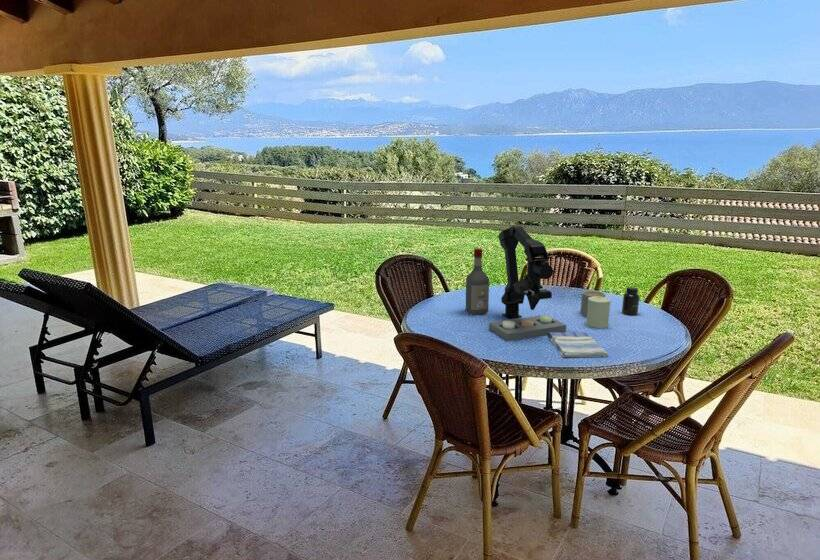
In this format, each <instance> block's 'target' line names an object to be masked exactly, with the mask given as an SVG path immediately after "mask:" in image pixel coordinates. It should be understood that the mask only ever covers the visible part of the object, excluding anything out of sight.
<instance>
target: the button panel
mask: <svg viewBox="0 0 820 560" xmlns="http://www.w3.org/2000/svg"><path fill="white" fill-rule="evenodd" d="M542 315H543V314H541V315H533V316H532V315H531V316H526V317H518V318H511V319H505V320H504V319H503V320H498V321H490V322H488V330H489V329H490V330H489V331H491V332H492V331H493V333H494V334H495V333H496V334H495V335H497V336H498V335H499V336H498V337H500V338H502V339H503V340H505V341H506V342H510V341H517V340H522V339H530V338H536V337H542V336H548V332H555V333H558V332H559V333H562V332H567V324H566V323H563V322H561V321H560V320H557V319H555V318H553V317H552V323H549V324H542V323H540V316H542ZM507 320H508V321H514V322H515V329H509V330H505V329H504V328H502V326H503V321H507ZM524 320H529V321H532V322H534V324H533V326H529V327H524V326H522V325H521V322H522V321H524Z"/></svg>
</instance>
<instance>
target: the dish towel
mask: <svg viewBox="0 0 820 560" xmlns="http://www.w3.org/2000/svg"><path fill="white" fill-rule="evenodd" d="M547 336H548V338H549V340H550V341H551V344H553V345H554V347H555V349H556V350H557V351H558V352H559V353H560V355H561V356H562V358H568V357H574V358H607V357H606V356H608V357H609V353H608V351H606V350H605V349H604V348H603V347H602V346H601V345H600V344H599V343H597V341H596V340H595V339H594V338H592V336H590V335H589V333H588V332H582V331H566V332H562V333H559V332H558V333H555V332H548V335H547ZM601 356H603V357H601Z"/></svg>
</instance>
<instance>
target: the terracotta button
mask: <svg viewBox="0 0 820 560" xmlns="http://www.w3.org/2000/svg"><path fill="white" fill-rule="evenodd" d="M533 324H534V322H532V321H529V320H524V321H522V322H521V325H522V326H524V327H529V326H533Z"/></svg>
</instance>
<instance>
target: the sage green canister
mask: <svg viewBox="0 0 820 560" xmlns="http://www.w3.org/2000/svg"><path fill="white" fill-rule="evenodd" d="M611 301H612V300H611V298H609V297H606V296H605V297H601V296H592V297H589V298H588V311H587V317H586V322H585V324H586V326H588V327H590V328H593V329H594V328H595V329H606V328H608V327H609V325H610V324H609V319H610V309H611Z"/></svg>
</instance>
